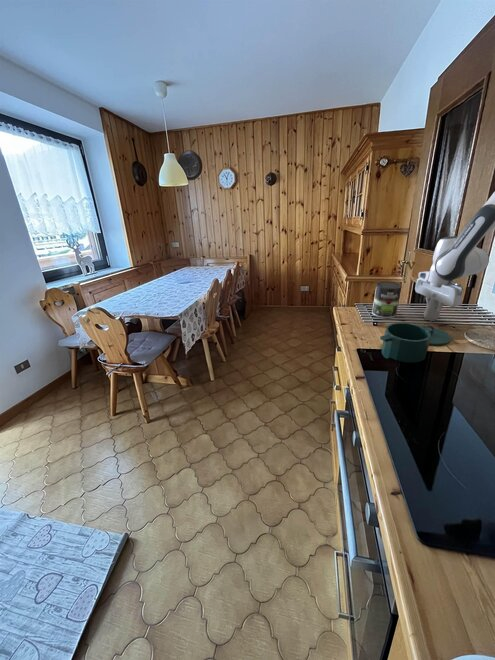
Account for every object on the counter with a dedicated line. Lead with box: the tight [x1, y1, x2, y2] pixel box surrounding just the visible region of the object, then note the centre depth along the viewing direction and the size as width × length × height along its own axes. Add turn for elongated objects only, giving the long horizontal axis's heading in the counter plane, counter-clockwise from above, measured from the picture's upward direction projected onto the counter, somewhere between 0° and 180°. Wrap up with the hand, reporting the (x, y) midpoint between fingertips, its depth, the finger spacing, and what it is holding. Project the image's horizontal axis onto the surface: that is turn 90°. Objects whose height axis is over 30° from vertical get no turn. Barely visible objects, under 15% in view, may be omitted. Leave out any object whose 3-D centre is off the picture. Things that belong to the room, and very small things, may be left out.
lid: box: [421, 325, 452, 346], centre depth 109 cm, size 15×15×4 cm
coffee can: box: [371, 280, 403, 319], centre depth 128 cm, size 10×10×14 cm
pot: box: [379, 322, 434, 363], centre depth 98 cm, size 14×19×10 cm
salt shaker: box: [423, 292, 441, 322], centre depth 120 cm, size 6×6×13 cm
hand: (432, 308), depth 121 cm, fingers closed on salt shaker, 3 cm apart
